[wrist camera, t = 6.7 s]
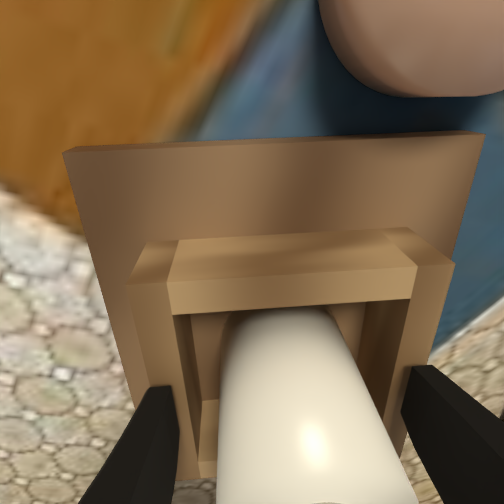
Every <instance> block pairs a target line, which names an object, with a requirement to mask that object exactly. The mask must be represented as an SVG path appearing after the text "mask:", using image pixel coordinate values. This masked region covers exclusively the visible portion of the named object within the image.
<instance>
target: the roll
mask: <svg viewBox="0 0 504 504" xmlns="http://www.w3.org/2000/svg"><path fill="white" fill-rule="evenodd" d="M216 504H419V503H418V499H417V497H416V495H415V493H414V490H413V488H412V486H411V484H410V482H409V479H408V477H407V475H406V473H405V471H404V468H403V466H402V464H401V462H400V460H399V457H398V455H397V453H396V451H395V449H394V447H393V444H392V442H391V440H390V438H389V436H388V433H387V431H386V429H385V427H384V425H383V422H382V420H381V418H380V416H379V414H378V411H377V409H376V407H375V405H374V403H373V400H372V398H371V396H370V394H369V392H368V389H367V387H366V385H365V383H364V381H363V379H362V376H361V374H360V372H359V370H358V368H357V365H356V363H355V361H354V359H353V357H352V354H351V352H350V350H349V348H348V346H347V343H346V341H345V339H344V337H343V335H342V332H341V330H340V328H339V326H338V324H337V321H336V319H335V317H334V315H333V313H332V311H331V310H330V308H329V307H328V306H327V305H326V304H323V305H308V306H294V307H279V308H265V309H250V310H236V311H232V312H231V314H230V315H229V316H228V318H227V320H226V322H225V324H224V327H223V330H222V337H221V366H220V396H219V427H218V457H217V487H216Z"/></svg>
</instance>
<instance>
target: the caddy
mask: <svg viewBox="0 0 504 504" xmlns="http://www.w3.org/2000/svg"><path fill="white" fill-rule="evenodd" d="M485 135H486V134H482V133H476V132H471V131H465V130H455V131H432V132H408V133H385V134H361V135H338V136H314V137H291V138H267V139H244V140H220V141H197V142H173V143H150V144H127V145H103V146H80V147H75V148H72V149H70V150H67V151H65V152H62V155H63V158H64V162H65V165H66V169H67V172H68V176H69V179H70V183H71V186H72V190H73V193H74V197H75V200H76V204H77V207H78V211H79V214H80V218H81V221H82V225H83V228H84V232H85V235H86V239H87V242H88V246H89V249H90V253H91V257H92V260H93V264H94V267H95V271H96V274H97V278H98V281H99V285H100V288H101V292H102V295H103V299H104V302H105V306H106V309H107V313H108V316H109V320H110V323H111V327H112V330H113V334H114V337H115V341H116V344H117V348H118V351H119V355H120V358H121V362H122V365H123V369H124V372H125V376H126V379H127V383H128V386H129V390H130V393H131V397H132V400H133V404H134V407H135V411H136V409H137V407H138V405H139V404H140V402H141V400H142V398H143V396H144V394H145V392H146V390H147V389H148V388H149V387H158V386H171V389H172V394H173V399H174V404H175V409H176V414H177V419H178V424H179V429H180V438H179V452H178V463H177V473H176V479H175V481H181V480H191V479H202V478H212V477H217V457H218V427H219V396H220V366H221V337H222V330H223V327H224V324H225V322H226V320H227V318H228V316H229V315H230V314H231V312H232V311H236V310H250V309H265V308H279V307H294V306H308V305H323V304H326V305H327V306H328V307H329V308H330V310H331V311H332V313H333V315H334V317H335V319H336V321H337V324H338V326H339V328H340V330H341V332H342V335H343V337H344V339H345V341H346V343H347V346H348V348H349V350H350V352H351V354H352V357H353V359H354V361H355V363H356V365H357V368H358V370H359V372H360V374H361V376H362V379H363V381H364V383H365V385H366V387H367V389H368V392H369V394H370V396H371V398H372V400H373V403H374V405H375V407H376V409H377V411H378V414H379V416H380V418H381V420H382V422H383V425H384V427H385V429H386V431H387V433H388V436H389V438H390V440H391V442H392V444H393V447H394V449H395V451H396V453H397V455H398V457H399V459H400V455H401V452H402V448H403V445H404V442H405V438H406V435H407V429H406V426H405V423H404V421H403V418H402V416H401V413H400V410H401V407H402V403H403V399H404V395H405V391H406V387H407V383H408V380H409V376H410V372H411V368H412V366H421V365H427V361H428V358H429V354H430V351H431V347H432V344H433V340H434V337H435V334H436V330H437V327H438V323H439V320H440V316H441V313H442V309H443V306H444V302H445V299H446V295H447V292H448V288H449V285H450V281H451V278H452V274H453V271H454V267H455V263H454V262H452V261H451V257H452V254H453V250H454V247H455V243H456V239H457V236H458V232H459V229H460V225H461V221H462V218H463V214H464V211H465V207H466V203H467V200H468V196H469V193H470V189H471V185H472V182H473V178H474V175H475V171H476V167H477V164H478V160H479V157H480V153H481V149H482V146H483V142H484V139H485Z"/></svg>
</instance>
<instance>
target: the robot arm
mask: <svg viewBox="0 0 504 504" xmlns="http://www.w3.org/2000/svg"><path fill="white" fill-rule="evenodd" d="M400 413H401V416H402V418H403V421H404V423H405V426H406V429H407V431H408V434H409V436H410V438H411V441H412V443H413V446H414V448H415V450H416V452H417V454H418V456H419V458H420V459H421V461H422V463H423V465H424V467H425V469H426V471H427V473H428V475H429V477H430V478H431V480H432V482H433V484H434V486H435V488H436V490H437V491H438V493H439V495H440V497H441V499H442V501H443V503H444V504H504V422H503V421H502V420H500V419H499V418H498V417H496V416H495V415H494V414H493V413H491V412H490V411H489V410H488V409H486V408H485V407H484V406H483V405H481V404H480V403H479V402H478V401H476V400H475V399H474V398H473V397H471V396H470V395H469V394H468V393H466V392H465V391H464V390H463V389H461V388H460V387H459V386H458V385H457V384H455V383H454V382H453V381H452V380H450V379H449V378H448V377H447V376H445V375H444V374H443V373H442V372H440V371H439V370H438V369H437V368H435V367H434V366H433V365H421V366H412V368H411V372H410V376H409V380H408V383H407V387H406V391H405V395H404V399H403V403H402V407H401V410H400ZM179 438H180V429H179V424H178V419H177V414H176V409H175V404H174V399H173V394H172V389H171V386H158V387H149V388H148V389H147V390H146V392H145V394H144V396H143V398H142V400H141V402H140V404H139V405H138V407H137V409H136V411H135V413H134V415H133V416H132V418H131V420H130V422H129V423H128V425H127V427H126V429H125V430H124V432H123V434H122V436H121V437H120V439H119V441H118V442H117V444H116V445H115V447H114V449H113V450H112V452H111V454H110V455H109V457H108V458H107V460H106V462H105V463H104V465H103V467H102V468H101V470H100V471H99V473H98V474H97V476H96V477H95V479H94V480H93V482H92V483H91V485H90V486H89V488H88V489H87V491H86V492H85V494H84V495H83V497H82V498H81V500H80V501H79V503H78V504H171V502H172V496H173V490H174V484H175V479H176V473H177V463H178V452H179Z"/></svg>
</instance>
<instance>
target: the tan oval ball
mask: <svg viewBox="0 0 504 504" xmlns="http://www.w3.org/2000/svg"><path fill="white" fill-rule="evenodd" d="M318 2H319V8H320V14H321V18H322V22H323V25H324V29H325V32H326V34H327V37H328V39H329V42H330V44H331V46H332V48H333V50H334V52H335V53H336V55H337V57H338V59H339V60H340V61H341V63H342V64H343V65H344V67H345V68H346V69H347V70H348V71H349V72H350V73H351V74H352V75H353V76H354V77H355V78H356V79H357V80H358V81H360V82H361V83H362V84H364V85H365V86H367V87H369V88H371V89H373V90H375V91H377V92H379V93H382V94H386V95H389V96H395V97H459V96H480V95H486V94H492V93H495V92H498V91H501V90H504V0H318Z"/></svg>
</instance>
